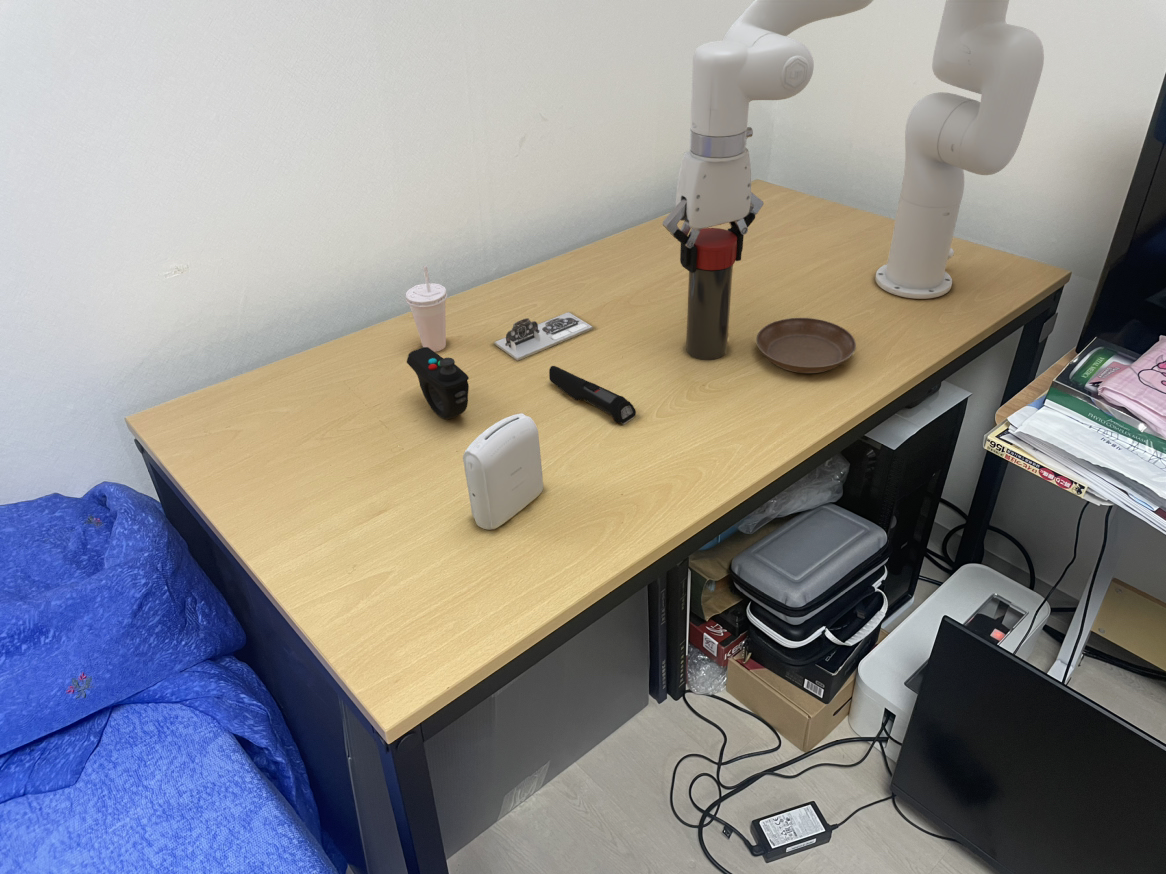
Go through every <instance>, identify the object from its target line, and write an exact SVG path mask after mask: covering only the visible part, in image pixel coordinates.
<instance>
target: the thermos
mask: <svg viewBox="0 0 1166 874" xmlns="http://www.w3.org/2000/svg"><path fill="white" fill-rule="evenodd" d="M733 270H734V264H733V265H732V266H730V267H728V268H725V269H721V270H703V269H699V268H697V269H696V272H694V273H691V272H689V271H688V283H687V285H688V286H687V309H686V310H687V313H686V336H685V337H686V338H685V351H686V353H687V354H688V355H689V356H690V357H692V358H695V359H697V360H703V361H712V360H717V359H720V358H723V357H724V356H725V355H727V352H728V343H729V327H730V317H731V316H730V315H731V301H732V300H731V299H732V287H733V286H732V285H733V273H734V271H733Z"/></svg>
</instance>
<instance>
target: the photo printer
mask: <svg viewBox="0 0 1166 874" xmlns="http://www.w3.org/2000/svg"><path fill="white" fill-rule="evenodd" d="M540 445H541V444H540V434H539V429H538V426H537V424H536V422H535V421H534V419H532V417H531V416H528V415H525V413H523V412H521V413H516V414H512V415H510V416H507V417H505V418H502V419H501V420H499V421H497V422H495V423H494V424H492V425H491V426H489V427H488V428H487V429H485V430H484V431H483V432H481V433H480V434H479V435H478V436H477V437H475V439H474V440H473V441H472V442H471V443H470V444H469V445H468V446H467V448H466V449H465V451H464V452H463V455H462V461H463V466H464V473H465V479H466V486H467V492H468V499H469V504H470V511H471V515H472V518H473V519H474V521H475V524H476V525H477V526H478V527H479V528H481V529H483V530H486V531H492V530H496V529H497V528H499V527H501V526H502V525H504V524H505V523H506V522H508V521H509V520H510V519H512V518H513V517H515V515H517V514H518V513H519V512H521V511H522V510H523V509H524V508H526V507H527V506H528V505H530V504H531V503H532V502H533V501H534V500H535V499H537V497H539V496H540V495H541V494H542V493H543V491H544V479H543V477H544V476H543V468H542V466H543V465H542V455H541V446H540Z"/></svg>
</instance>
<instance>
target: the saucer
mask: <svg viewBox="0 0 1166 874" xmlns="http://www.w3.org/2000/svg"><path fill="white" fill-rule="evenodd" d="M755 340H756V341H755V342H756V345H757V347H758V349H759V351H760V352H761V353H762V355H763V356H764V357H765V358H766V359H767V360H768V361H770V362H771V363H772V364H774V365H776V366H777V367H779V368H780V369H784V370H785V371H789V372H793V373H796V374H797V373H798V374H818V373H824V372H829V371H830V370H833V369H835V368H837V367H839V366H841V365H842V364H844V363H845V362H847V360H849V359H850V357H852V356H853V354H854V353H855V351H856V348H857V342H856V340H855V338H854V336H853V335H852V333H850V332H849V331H848V330H847V329H845V328H844V327H841V326H840V325H839V324H835V323H833V322H830V321H827V320H823V319H819V318H810V317H789V318H784V319H779V320H776V321H773V322H769V323H768V324H766V325H765V326H764V327H762V328H761V329H760V330H759V331H758V332H757V335H756V338H755Z"/></svg>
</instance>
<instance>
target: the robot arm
mask: <svg viewBox="0 0 1166 874" xmlns="http://www.w3.org/2000/svg"><path fill="white" fill-rule="evenodd" d="M873 2H874V0H753V1H752V2H751V3H750V4H749V5H748V7H747V8H746V9H745V10H744V11H743V12H742V13H741V14H740V15H739V17H738V18H736V19H735V21H734V22H733V24H731V26H730V27H729V28H728V29H727V31H726V33H725V34H724V36H723V37H722V40H713V41H707V42H704V43H702V44H700V45H699V46H697V48H696V49H695V50H694V54H693V56H692V70H691V71H692V73H691V76H692V77H691V100H690V127H689V151H686V152H684V153H683V156H682V159H681V163H680V168H679V171H678V172H679V173H678V178H677V187H676V195H675V206H674V207H673V208H674V209H672V211H671V212H669V214H668V215H667V216H666V217H665V218H664V219H663V221H662V224H661V225H662V226H663V227H664V228H665V230H666V231H667V232H669V233H670V235H671V236H672V237H673V238H674V239H676V240H677V242H679V243H680V249H679V251H680V252H679V253H680V254H679V262H680V265H681V267H683V269H685V270H686V271H688V273H689V272H691V273H694V272H696V269H697V247H696V246H694V243H695V241H696V239H697V237H698V235H699V233H700V231H701V229H704V228H713V227H717V226H720V225H724V224H729V226H730V227H729V228H727V230H728V231H730V232H732V233H734V234H735V235H736V237H737V251H736V259H735V262H739V261H741V260H742V254H743V253H742V252H743V250H744V249H743V247H744V237H745V236H744V235H746V234H747V233H748V232H749V227H750V225H751V224H752V223H753V222H754V221H755V219H756V215H758V214H759V212H760V210H761V209H762V208H763V206H764V200H762V199H761V198H760V197H758V196H757V195H756V194H754V193H753V192H752V166H751V157H750V151H749V149H748V148H747V139H749V138H752V137H753V134H754V130H753V128H752V126H748V120H749V110H750V109H749V108H750V102H752V101H781V100H787V99H790V98H792V97H795V96H796V95H798V94H800V93H801V92H802V91H803V90H804V89H805V88H806V87H807V86H808V84H809V83H810V81H811V79H812V77H813V74H814V67H815V65H814V57H813V55H812V53H811V51H810V49H809V48H808V47H807V46H806V45H805V44H804V43H803V42H802V41H799V40H798V39H796V38H792V37H789V35H790V34H792V33H793V32H794V31H797V30H798V29H801V28H802V27H805V26H806V25H809V24H812V23H815V22H818V21H821V20H826V19H827V20H828V19H831V18H835V17H841V16H845V15H848V14H851V13H855V12H858V11H861V10H863V9H865V8H867V7H868V6H869V5H870V4H872V3H873ZM1009 4H1010V0H945V3H944V8H943V11H942V16H941V20H940V25H939V28H938V33H937V36H936V37H937V38H936V41H935V45H934V50H933V55H932V64H931V65H932V66H931V68H932V72H933V75H934V76H935V78H937V79H938V80H939V81H941V82H943V83H945V84H947V85H950V86H953V87H956V88H957V89H962V90H965V91H969V92H972V93H975V94H979V95H981V97H980V101H978V100H977V99H976V100H975V99H974V98H970V97H966V96H963V95H960V94H956V93H950V92H933V93H929V94H926V95H925V96H923V97H922V98H921V99H919V100H918V101H917V102H916V103H915V105H914V106H913V107H912V108H911V110H910V112H909V114H908V117H907V120H906V124H905V131H904V147H905V160H904V168H903V169H904V170H903V177H902V183H901V189H900V194H899V198H898V204H897V208H896V214H895V220H894V225H893V230H892V231H893V232H892V235H891V242H890V247H889V252H888V257H887V261H886V262H887V263H885V264H883V265H882V266H880V267H879V268H878V269H877V270H876V273H875V282H876V284H877V286H878V287H880V289H882V290H884V291H885V292H887V293H889V294H892V295H894V296H898V297H902V298H906V299H914V300H916V299H917V300H928V299H934V298H938V297H942V296H944V295H945V294H948V292H950V291H951V288H952V286H953V285H952V284H953V279H952V277H951V275H950V274H949V273H948V272H947V271H946V269H947V268H946V267H947V264H948V260H950V259H951V258H953V257H954V255H955V251H954V249H953V248H952V243H953V238H954V234H955V229H956V225H957V220H958V216H959V213H960V208H961V203H962V200H963V195H964V191H965V172H964V171H966V172H969V173H972V174H975V175H979V176H980V175H981V176H991V175H995V174H998V173H999V172H1001V171H1003V169H1004V168H1006V166H1008V165H1009V163H1010V162H1011V160H1012V159H1014V156H1015V154H1016V152H1017V151H1018V148H1019V145H1020V143H1021V140H1022V138H1023V135H1024V131H1025V128H1026V125H1027V122H1028V118H1029V116H1030V112H1031V109H1032V106H1033V102H1034V99H1035V96H1036V94H1037V90H1038V87H1039V83H1040V80H1041V76H1042V73H1043V68H1044V61H1045V54H1044V52H1045V50H1044V46H1043V43H1042V39H1041V38H1040V37H1039V36H1038V35H1037V33H1035V32H1034V31H1033V30H1031V29H1029V28H1026V27H1023V26H1018V25H1015V24H1010V23H1007V22H1006V18H1007V12H1008V9H1009ZM680 221H683V222H682V226H681V228H680V227H678V224H679V222H680Z"/></svg>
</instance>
